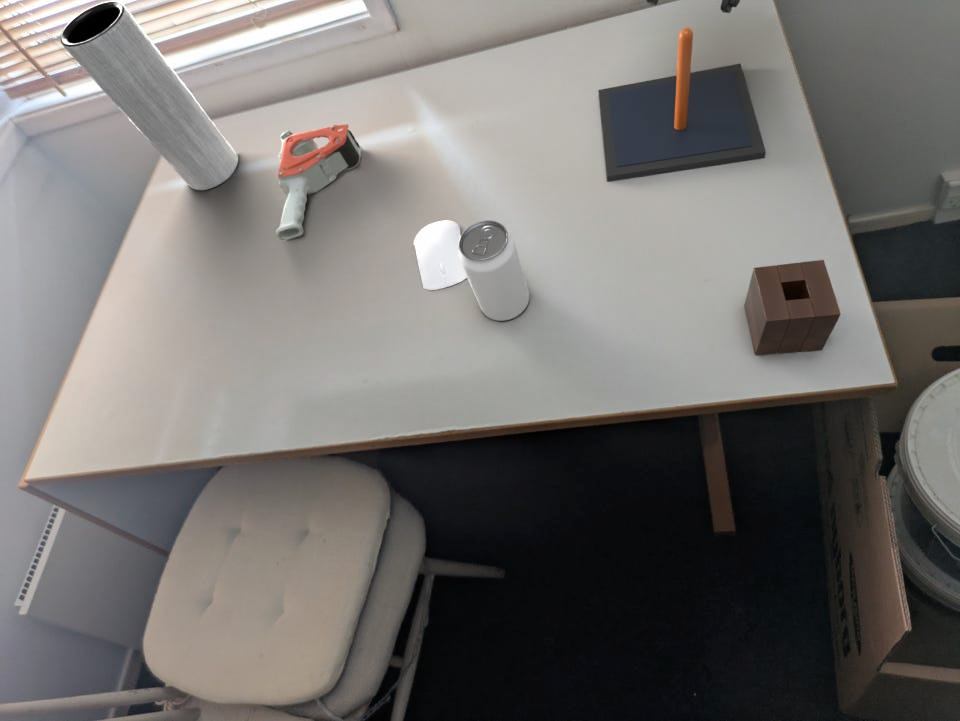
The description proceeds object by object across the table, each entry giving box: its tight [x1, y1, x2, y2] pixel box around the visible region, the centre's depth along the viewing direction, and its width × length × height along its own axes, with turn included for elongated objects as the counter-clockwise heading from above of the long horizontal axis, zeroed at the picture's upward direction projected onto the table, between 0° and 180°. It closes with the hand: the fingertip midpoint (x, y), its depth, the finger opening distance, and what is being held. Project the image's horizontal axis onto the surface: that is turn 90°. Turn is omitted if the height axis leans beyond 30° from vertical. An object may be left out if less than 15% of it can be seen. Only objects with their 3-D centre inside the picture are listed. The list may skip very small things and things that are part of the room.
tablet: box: [597, 63, 767, 182], centre depth 82 cm, size 20×18×1 cm
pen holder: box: [743, 259, 841, 356], centre depth 61 cm, size 7×7×7 cm
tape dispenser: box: [274, 124, 363, 241], centre depth 93 cm, size 18×5×20 cm
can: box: [459, 219, 530, 322], centre depth 70 cm, size 6×6×12 cm
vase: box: [60, 0, 239, 191], centre depth 92 cm, size 10×10×27 cm
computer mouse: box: [413, 219, 468, 291], centre depth 80 cm, size 7×12×2 cm, turn 10°
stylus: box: [674, 27, 694, 130], centre depth 75 cm, size 2×2×14 cm
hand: (687, 7), depth 66 cm, fingers open, 8 cm apart
